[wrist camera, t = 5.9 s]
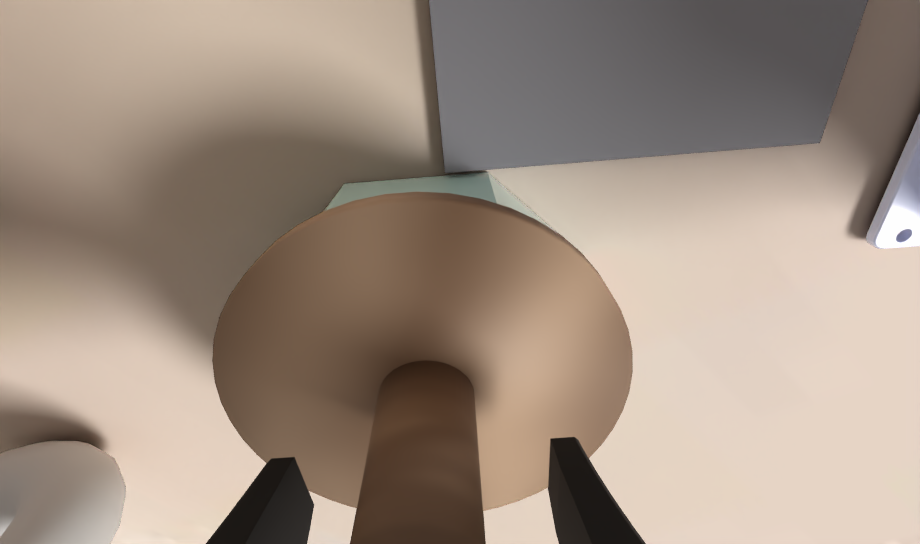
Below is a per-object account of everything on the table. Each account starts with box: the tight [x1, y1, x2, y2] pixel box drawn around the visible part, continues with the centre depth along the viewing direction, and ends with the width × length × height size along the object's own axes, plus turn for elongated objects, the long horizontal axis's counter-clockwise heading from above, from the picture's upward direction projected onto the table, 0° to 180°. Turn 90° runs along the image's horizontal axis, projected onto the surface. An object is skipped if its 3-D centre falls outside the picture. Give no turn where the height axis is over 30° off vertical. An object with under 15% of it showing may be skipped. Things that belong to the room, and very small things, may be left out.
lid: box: [212, 192, 632, 544], centre depth 11 cm, size 12×12×5 cm
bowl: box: [324, 172, 556, 232], centre depth 15 cm, size 12×12×4 cm
